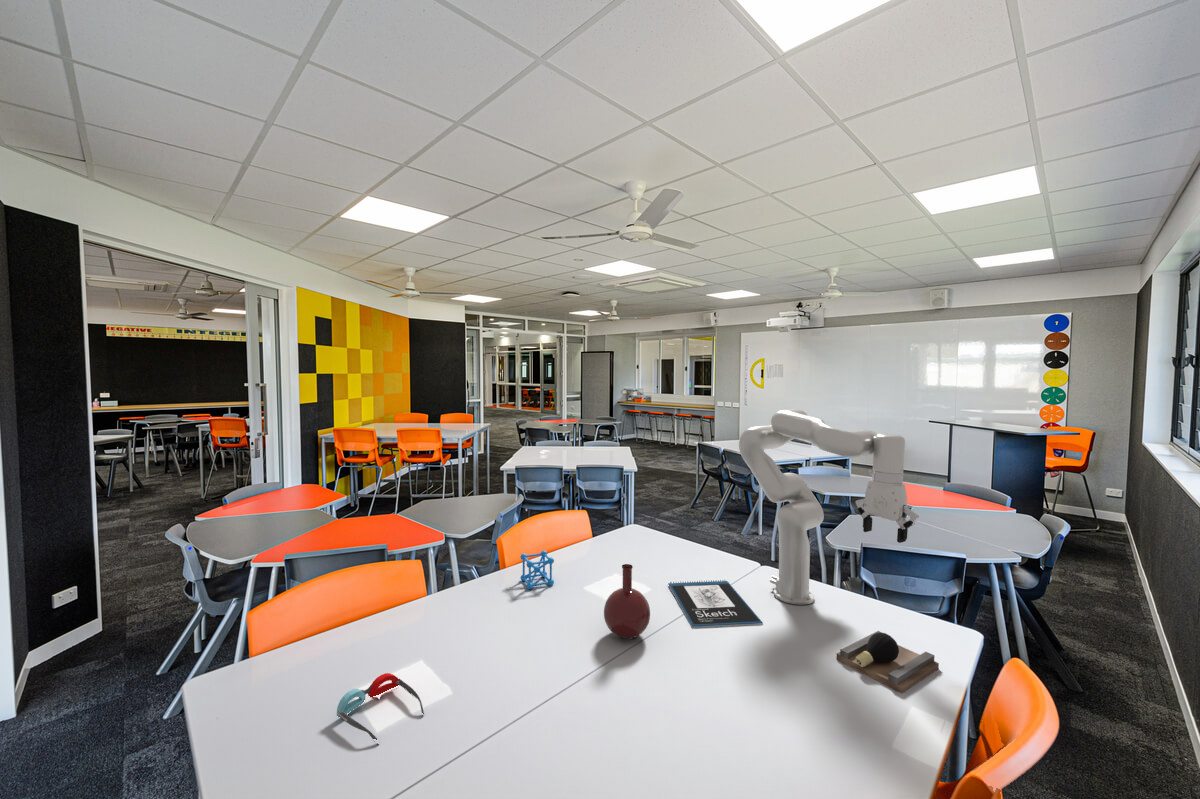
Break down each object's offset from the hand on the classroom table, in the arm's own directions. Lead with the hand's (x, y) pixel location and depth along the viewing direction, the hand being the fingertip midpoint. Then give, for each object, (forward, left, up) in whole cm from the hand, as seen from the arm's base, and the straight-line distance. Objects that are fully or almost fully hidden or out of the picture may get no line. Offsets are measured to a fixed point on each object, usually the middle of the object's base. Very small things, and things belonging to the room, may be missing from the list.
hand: (883, 536), depth 138 cm
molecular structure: (-83, -71, -28) cm, 113 cm away
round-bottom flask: (-37, -64, -28) cm, 79 cm away
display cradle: (+9, -15, -28) cm, 33 cm away
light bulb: (+8, -19, -27) cm, 34 cm away
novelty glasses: (-37, -128, -29) cm, 136 cm away
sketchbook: (-39, -29, -29) cm, 56 cm away
